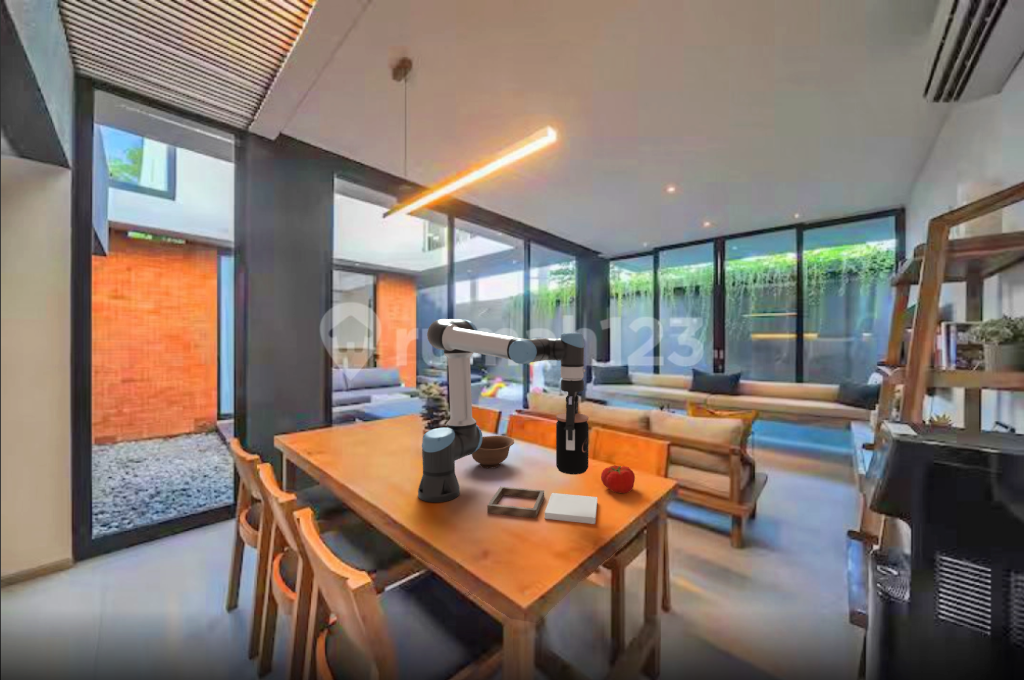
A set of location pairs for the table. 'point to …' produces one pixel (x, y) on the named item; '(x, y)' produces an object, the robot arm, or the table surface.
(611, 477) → the tomato
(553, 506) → the tile
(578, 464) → the coffee jar
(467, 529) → the table surface
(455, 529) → the table surface
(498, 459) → the bowl
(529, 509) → the holder
